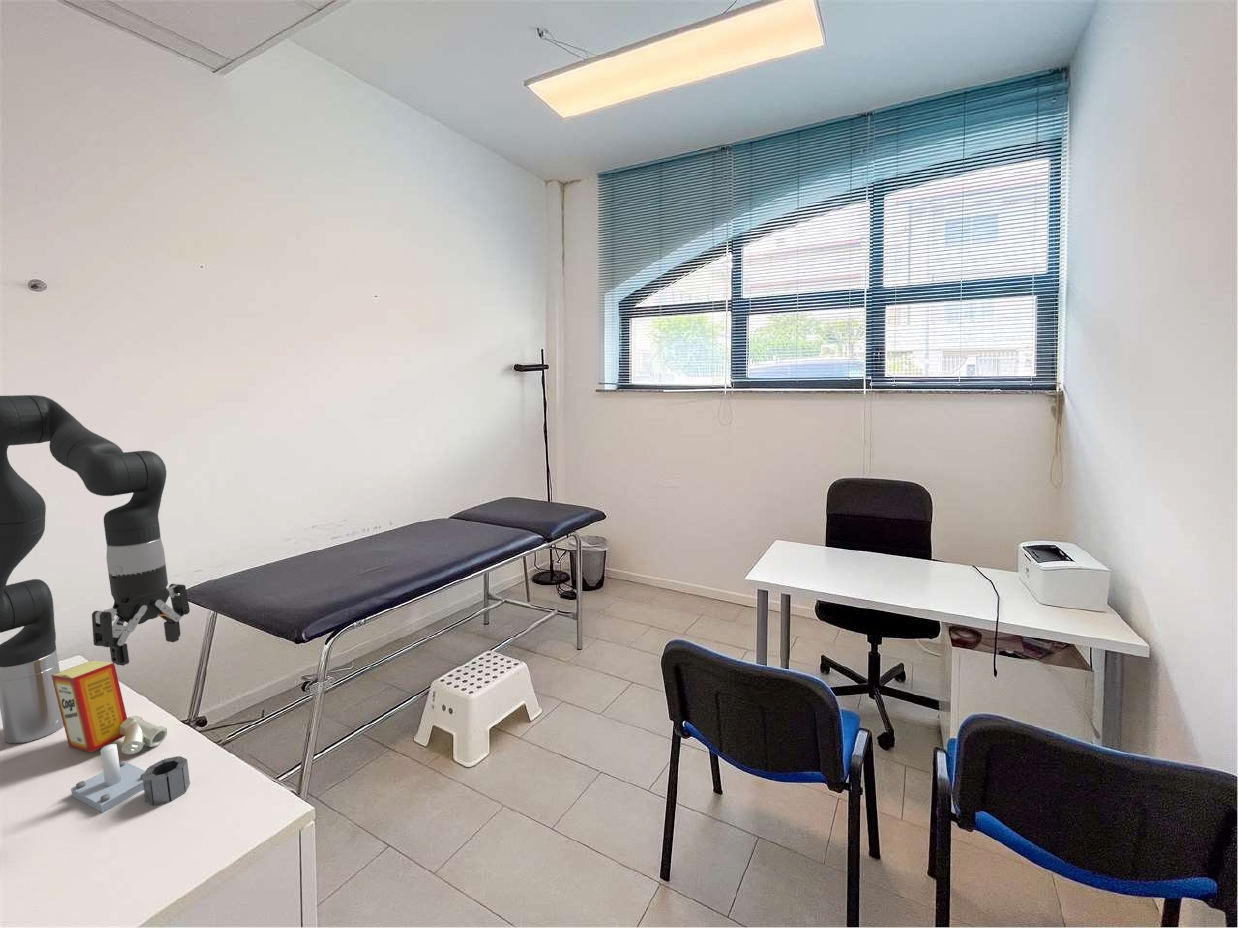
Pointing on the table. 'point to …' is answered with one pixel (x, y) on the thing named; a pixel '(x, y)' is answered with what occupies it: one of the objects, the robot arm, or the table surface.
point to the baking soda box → (90, 704)
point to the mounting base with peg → (110, 782)
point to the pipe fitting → (140, 734)
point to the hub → (166, 780)
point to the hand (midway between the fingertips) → (148, 652)
